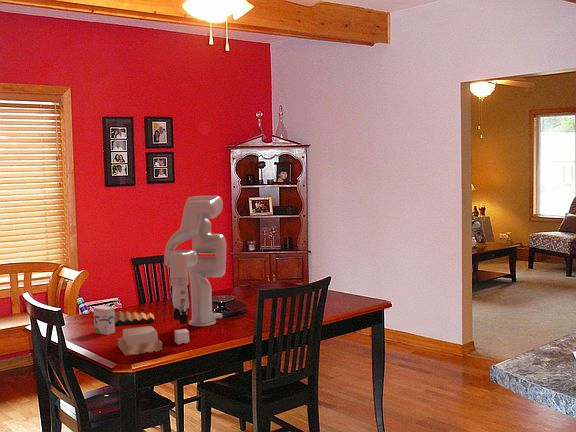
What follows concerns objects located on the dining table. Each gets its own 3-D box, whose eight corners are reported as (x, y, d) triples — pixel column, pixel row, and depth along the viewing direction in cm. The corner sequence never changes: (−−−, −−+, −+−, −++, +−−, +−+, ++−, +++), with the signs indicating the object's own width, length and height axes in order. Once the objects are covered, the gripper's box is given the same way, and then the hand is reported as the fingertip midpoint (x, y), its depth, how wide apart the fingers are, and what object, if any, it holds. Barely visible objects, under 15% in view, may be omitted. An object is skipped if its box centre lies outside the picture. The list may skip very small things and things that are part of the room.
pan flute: (101, 316, 348) (100, 328, 324) (101, 309, 348) (100, 321, 324) (152, 312, 354) (154, 323, 330) (151, 306, 354) (154, 316, 330)
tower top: (151, 335, 293) (151, 325, 293) (157, 341, 282) (157, 332, 282) (123, 338, 288) (122, 329, 288) (128, 345, 277) (127, 335, 277)
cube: (186, 340, 297) (185, 328, 296) (189, 342, 292) (188, 331, 292) (174, 341, 295) (174, 330, 295) (177, 344, 290) (177, 332, 290)
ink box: (93, 333, 313) (92, 307, 312) (101, 330, 317) (100, 305, 316) (108, 335, 309) (106, 309, 308) (115, 332, 313) (114, 306, 312)
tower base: (154, 343, 295) (153, 333, 295) (162, 351, 282) (161, 342, 281) (118, 347, 289) (118, 338, 289) (125, 357, 276) (124, 347, 275)
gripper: (193, 283, 285) (194, 324, 286) (182, 278, 301) (183, 317, 301) (175, 285, 282) (177, 326, 283) (165, 279, 298) (167, 319, 299)
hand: (180, 321), depth 292 cm, fingers open, 9 cm apart
